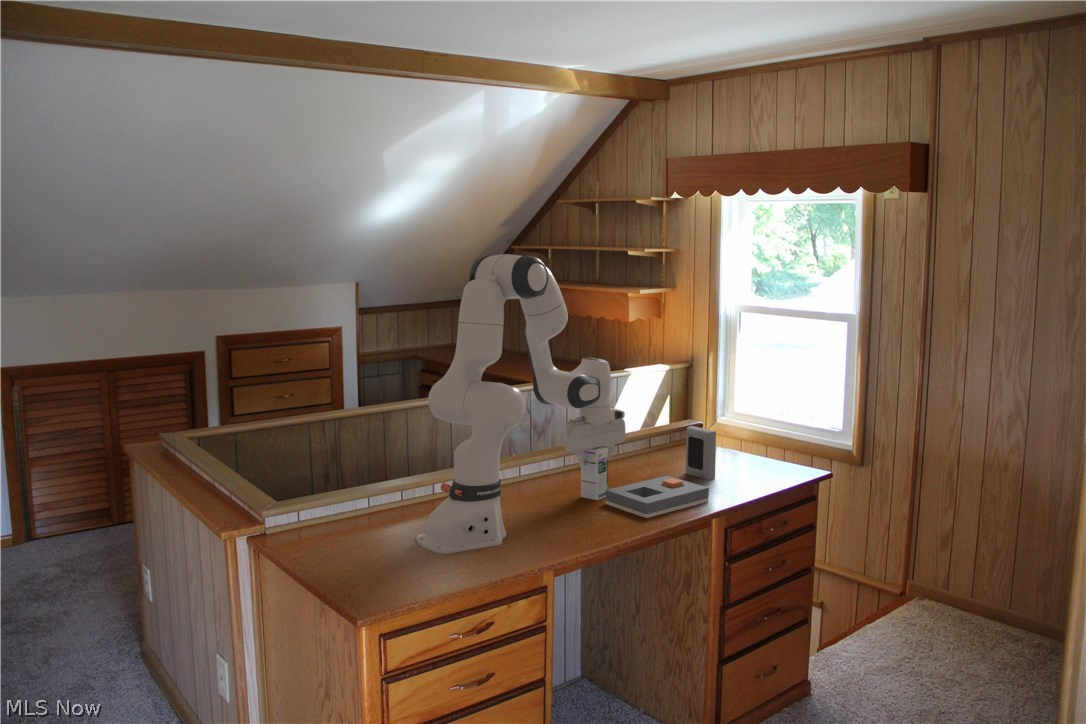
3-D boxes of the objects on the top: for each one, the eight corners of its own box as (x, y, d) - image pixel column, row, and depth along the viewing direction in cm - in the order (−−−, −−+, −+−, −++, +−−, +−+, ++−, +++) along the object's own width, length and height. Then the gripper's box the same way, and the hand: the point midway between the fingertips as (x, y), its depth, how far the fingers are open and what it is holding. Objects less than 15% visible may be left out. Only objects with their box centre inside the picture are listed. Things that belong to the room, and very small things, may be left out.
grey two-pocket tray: (646, 518, 240) (646, 503, 239) (605, 504, 252) (605, 490, 252) (708, 501, 255) (708, 487, 254) (666, 488, 267) (667, 475, 266)
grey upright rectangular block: (683, 475, 282) (683, 427, 280) (691, 473, 285) (692, 425, 282) (707, 481, 275) (708, 432, 273) (715, 479, 277) (716, 431, 275)
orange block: (672, 492, 254) (673, 483, 254) (662, 489, 257) (662, 480, 257) (682, 489, 256) (682, 481, 256) (672, 486, 260) (672, 478, 259)
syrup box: (597, 501, 255) (597, 450, 253) (580, 497, 259) (580, 447, 257) (608, 496, 260) (609, 446, 257) (591, 493, 263) (591, 443, 261)
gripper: (574, 421, 247) (574, 471, 249) (629, 411, 259) (628, 458, 262) (559, 417, 252) (559, 466, 254) (614, 408, 264) (613, 454, 267)
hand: (595, 462), depth 258 cm, fingers open, 8 cm apart
